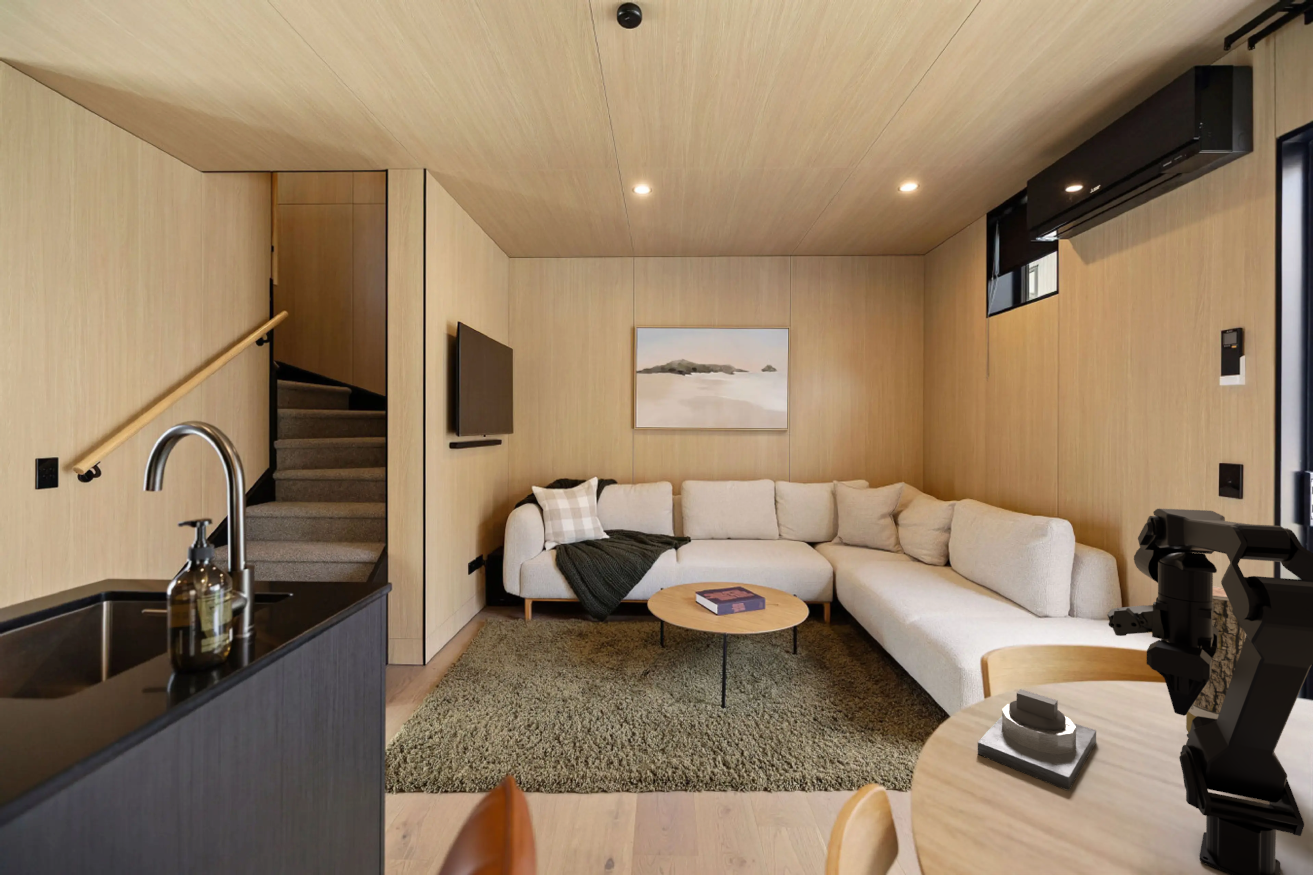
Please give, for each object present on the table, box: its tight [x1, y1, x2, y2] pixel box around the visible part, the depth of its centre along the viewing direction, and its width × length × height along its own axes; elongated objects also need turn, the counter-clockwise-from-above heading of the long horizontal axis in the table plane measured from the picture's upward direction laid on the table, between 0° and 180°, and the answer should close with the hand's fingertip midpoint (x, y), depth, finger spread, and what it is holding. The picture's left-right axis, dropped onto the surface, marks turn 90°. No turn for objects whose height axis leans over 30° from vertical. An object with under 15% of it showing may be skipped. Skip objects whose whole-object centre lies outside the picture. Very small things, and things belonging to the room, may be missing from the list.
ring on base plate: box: [977, 703, 1097, 791], centre depth 90 cm, size 18×12×5 cm, turn 131°
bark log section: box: [1185, 586, 1246, 734], centre depth 91 cm, size 7×7×25 cm
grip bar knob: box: [1008, 688, 1066, 731], centre depth 90 cm, size 8×8×6 cm
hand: (1183, 702), depth 80 cm, fingers open, 9 cm apart
